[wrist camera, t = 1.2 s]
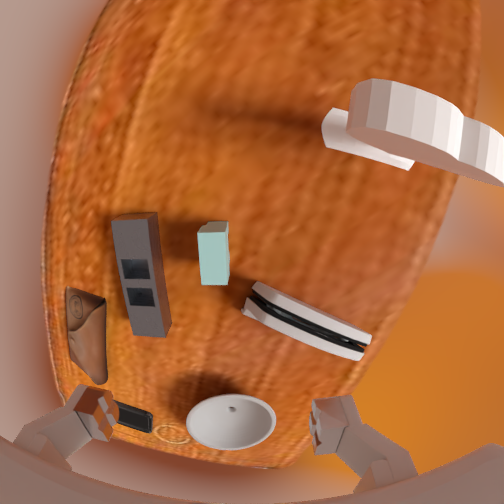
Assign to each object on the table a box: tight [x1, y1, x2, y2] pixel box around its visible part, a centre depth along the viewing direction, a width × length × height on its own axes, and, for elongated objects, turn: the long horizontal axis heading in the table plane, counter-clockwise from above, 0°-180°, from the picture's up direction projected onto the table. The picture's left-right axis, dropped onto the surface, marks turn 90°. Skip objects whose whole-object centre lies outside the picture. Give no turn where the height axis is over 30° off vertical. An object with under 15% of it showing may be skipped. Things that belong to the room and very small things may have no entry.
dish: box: [186, 394, 276, 450], centre depth 43 cm, size 18×14×5 cm
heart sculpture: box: [321, 78, 504, 187], centre depth 22 cm, size 16×5×18 cm, turn 81°
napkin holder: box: [241, 281, 372, 361], centre depth 35 cm, size 17×5×10 cm, turn 62°
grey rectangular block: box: [111, 212, 172, 338], centre depth 35 cm, size 16×5×4 cm, turn 1°
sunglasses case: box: [66, 286, 108, 385], centre depth 40 cm, size 18×7×7 cm, turn 164°
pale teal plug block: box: [197, 221, 230, 285], centre depth 32 cm, size 6×3×6 cm, turn 1°
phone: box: [112, 399, 153, 433], centre depth 47 cm, size 8×1×15 cm
